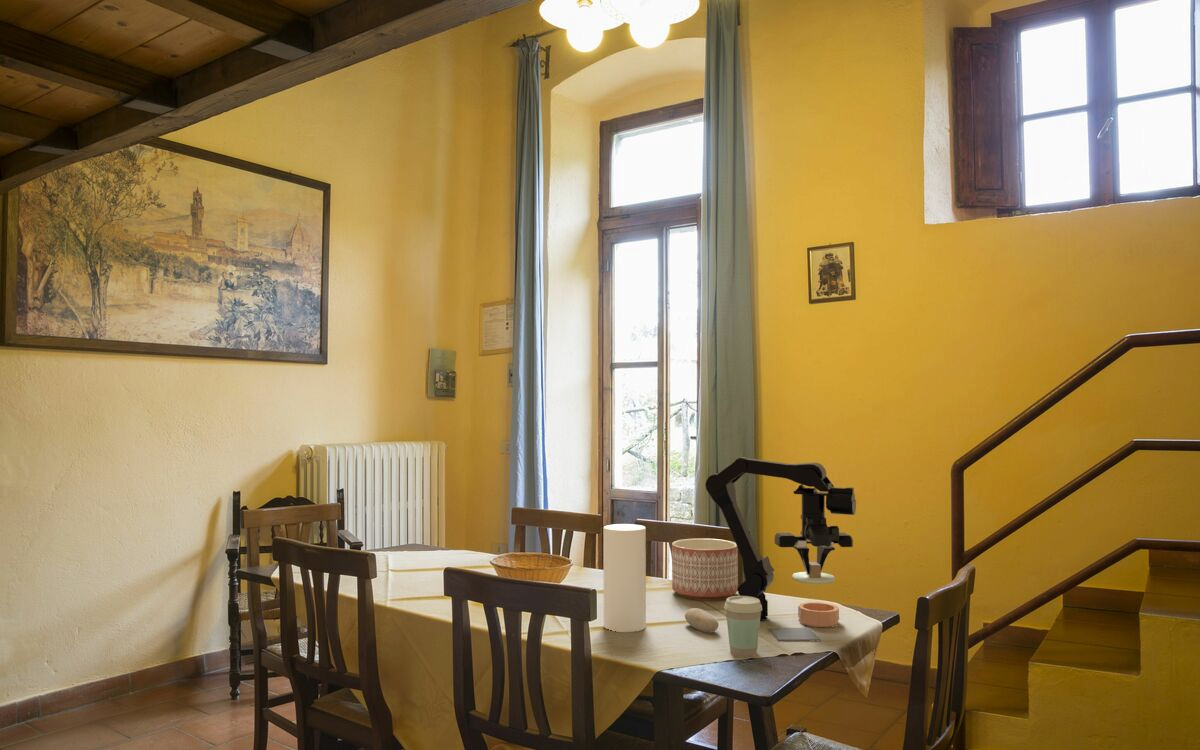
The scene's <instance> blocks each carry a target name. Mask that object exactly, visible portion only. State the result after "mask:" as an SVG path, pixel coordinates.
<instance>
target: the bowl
mask: <svg viewBox="0 0 1200 750" xmlns="http://www.w3.org/2000/svg"><path fill="white" fill-rule="evenodd" d="M797 608H798V609H797V611H798V612H797V614H798V615H797V617H798V623H799V622H800V623H799V624H800V625H803V624H804V625H803V626H805V625H807V626H806V627H809V626H813V627H812V628H816V627H831V628H833V627H832V626H836V625H838V626H839V620H840V608H839V607H838V606H837V605H836V604H831V603H828V602H819V601H813V602H812V601H808V602H802V603H799V605H798V606H797ZM836 627H837V626H836Z"/></svg>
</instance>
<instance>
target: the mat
mask: <svg viewBox="0 0 1200 750" xmlns="http://www.w3.org/2000/svg"><path fill="white" fill-rule="evenodd" d="M769 629H770V630H769ZM768 630H769V631H770V632H771V634H772V635H773V634H774V635H773V636H774V637H775V639H776V638H777V639H776V640H777V641H778V642H818V641H817V640H820V641H821V638H820V637H819V636H818V635H817V634H816V632H814V631H813V630H812V629H811V627H769V628H768ZM810 640H811V641H810ZM812 640H814V641H812Z"/></svg>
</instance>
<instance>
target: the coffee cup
mask: <svg viewBox="0 0 1200 750" xmlns="http://www.w3.org/2000/svg"><path fill="white" fill-rule="evenodd" d="M723 609H725V616H726V625H727V634H728V642H729V643H728V644H729V651H730V653H731V655H732V656H736V657H739V658H750V657H754V656H756V655H757V654H758V653H757V652H758V645H759V644H758V642H759V635H760V634H759V633H760V625H761V620H760V616H761V611H762V605H761V603H760V600H759V599H757V598H754V597H749V596H739V595H734V596H733V595H731V596H730V597H729V598H726V601H725V603H724V607H723Z"/></svg>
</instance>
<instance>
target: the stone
mask: <svg viewBox="0 0 1200 750" xmlns="http://www.w3.org/2000/svg"><path fill="white" fill-rule="evenodd" d="M684 619H685V620H686V622H687V623H688V625H690V626H691V627H692V628H694V629H695V630H698V631H699V632H703V633H714V632H715V631H717V630H718V629H719V627H720V626H719V621H718V620H717V618H716V617H714V616H713V615H712V614H711V613H709V612H708V611H706V610H705V609H701V608H697V607H693V608H689V609H688V610H686V612H685V614H684Z"/></svg>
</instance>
